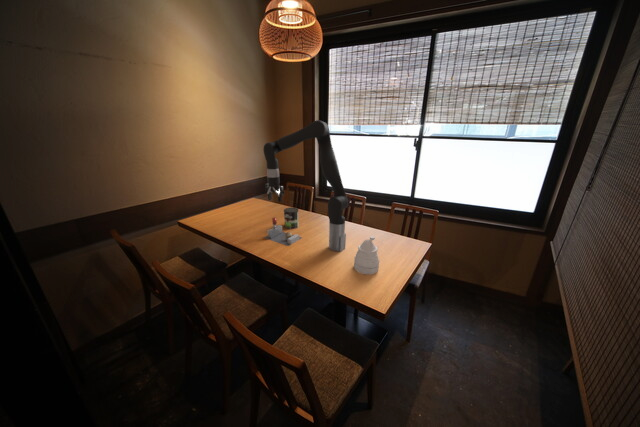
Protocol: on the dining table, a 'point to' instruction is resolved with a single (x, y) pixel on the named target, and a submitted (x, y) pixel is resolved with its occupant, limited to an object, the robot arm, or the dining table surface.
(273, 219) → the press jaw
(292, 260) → the dining table surface
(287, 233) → the tan ball
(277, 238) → the nutcracker bench
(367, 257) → the honey pot
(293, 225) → the coffee can
